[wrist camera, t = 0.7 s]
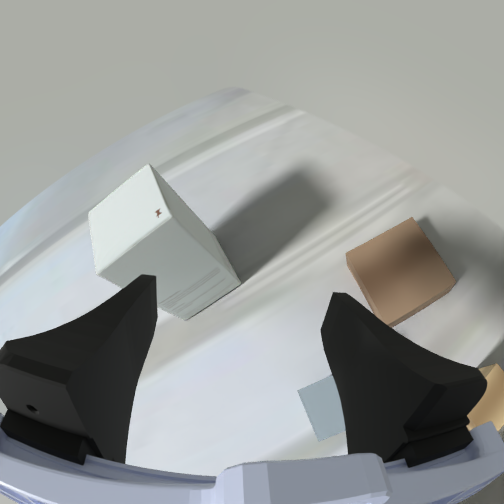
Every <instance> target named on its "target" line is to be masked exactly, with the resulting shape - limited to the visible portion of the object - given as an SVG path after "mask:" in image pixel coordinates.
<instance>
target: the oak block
mask: <svg viewBox="0 0 504 504" xmlns="http://www.w3.org/2000/svg"><path fill="white" fill-rule="evenodd" d="M479 370H480V371H481V373H482V374H483V376H484V377H485V379H486V380H487V383H488V384H487V389H486V391H485V393H484V395H483V397H482V398H481V399H480V401H479V402H478V403H477V405H476V406H475V407H474V408H473V409H472V410H471V412H470V413H469V414H468V415H467V417H468V418H469V420H470V423H469V424H468V425H467V428H468V430H469V431H470V430H472V429H473V428H475V427H477V426H479V425H482V424H484V423H487V422H489V421H492V422H493V424H494V426H495V428H496V429H497V431H499V430H500V429H501V427H502V426H503V425H504V371H503V370H502V369H501V368H500V366H499V365H498V364H497V363H496V364H493V365H490V366H486V367H483V368H480V369H479Z"/></svg>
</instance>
